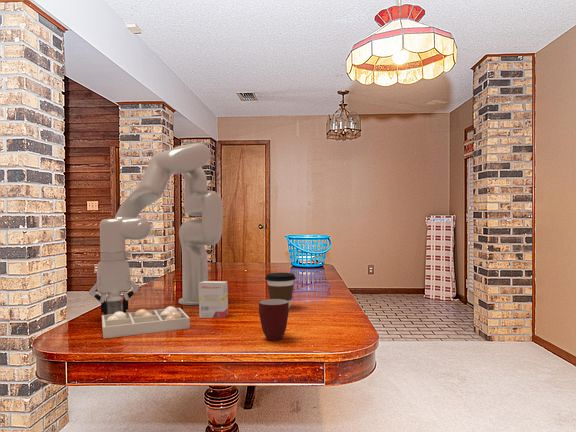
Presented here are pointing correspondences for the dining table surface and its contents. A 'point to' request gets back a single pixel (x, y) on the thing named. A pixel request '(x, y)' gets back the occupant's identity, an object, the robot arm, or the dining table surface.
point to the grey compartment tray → (143, 324)
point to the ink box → (213, 299)
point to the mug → (273, 317)
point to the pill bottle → (114, 303)
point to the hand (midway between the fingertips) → (114, 312)
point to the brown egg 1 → (142, 313)
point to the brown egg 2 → (173, 315)
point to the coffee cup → (280, 286)
